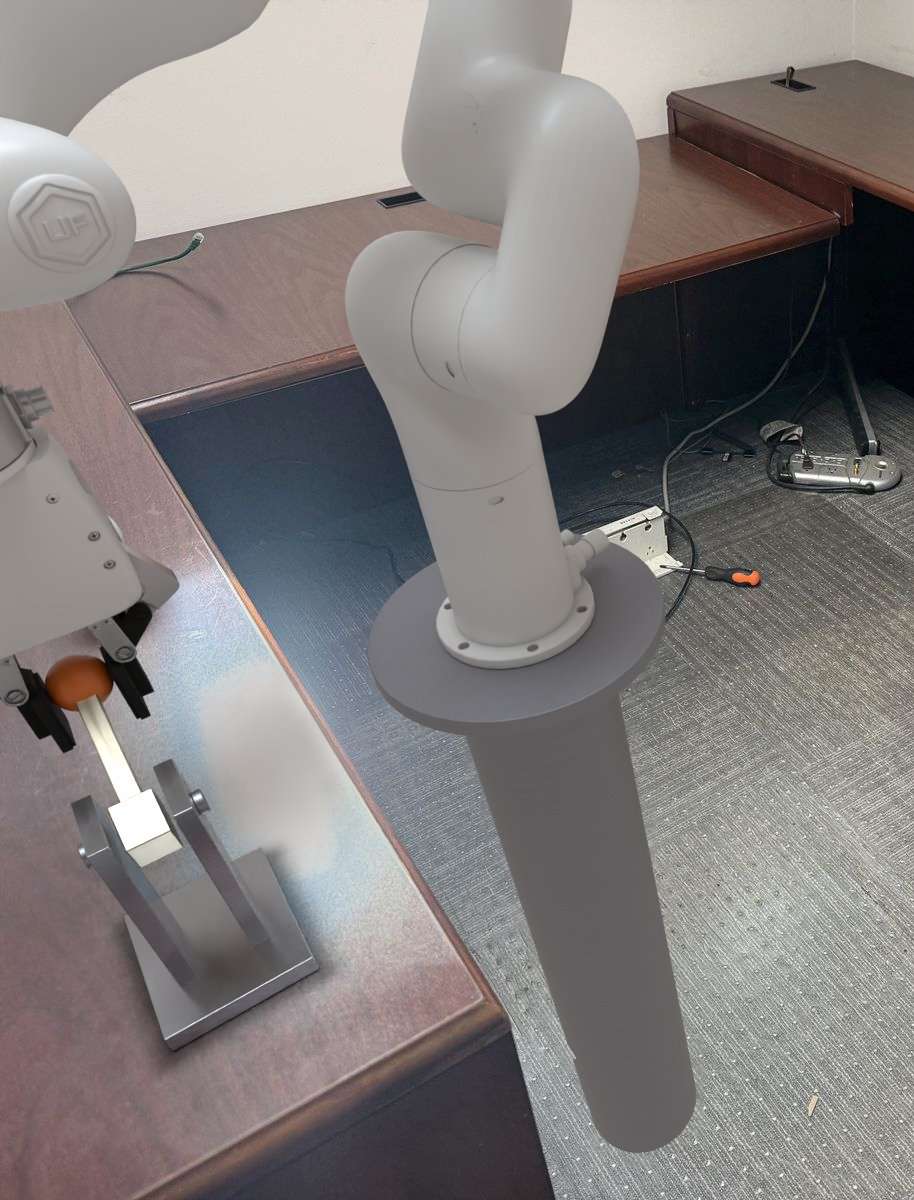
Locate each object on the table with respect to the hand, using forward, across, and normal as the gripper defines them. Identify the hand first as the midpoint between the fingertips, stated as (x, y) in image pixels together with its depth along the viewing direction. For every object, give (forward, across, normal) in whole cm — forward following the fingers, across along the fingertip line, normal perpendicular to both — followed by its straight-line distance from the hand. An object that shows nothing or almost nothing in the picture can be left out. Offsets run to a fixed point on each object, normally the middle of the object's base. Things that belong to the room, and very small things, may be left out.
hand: (101, 718), depth 62 cm
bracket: (+12, 0, +9) cm, 15 cm away
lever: (0, 0, +4) cm, 4 cm away
